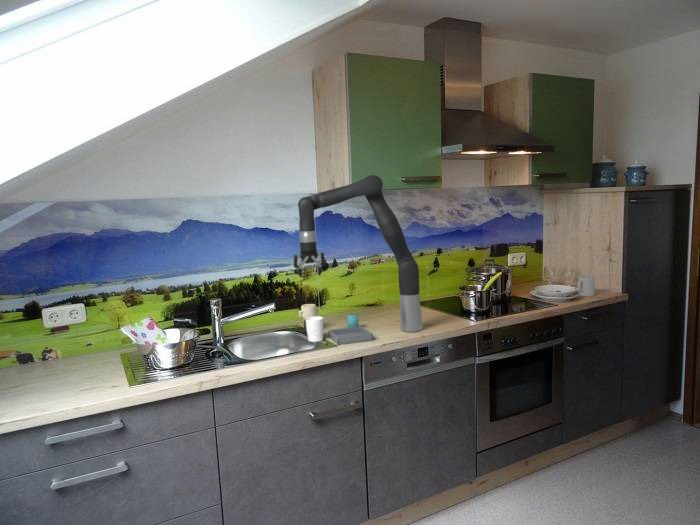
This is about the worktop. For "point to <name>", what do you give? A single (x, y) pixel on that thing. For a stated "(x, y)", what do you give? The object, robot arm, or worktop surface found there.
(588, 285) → the mug
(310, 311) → the character mug
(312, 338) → the white cup
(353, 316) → the teal capsule
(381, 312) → the worktop surface
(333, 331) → the tray
